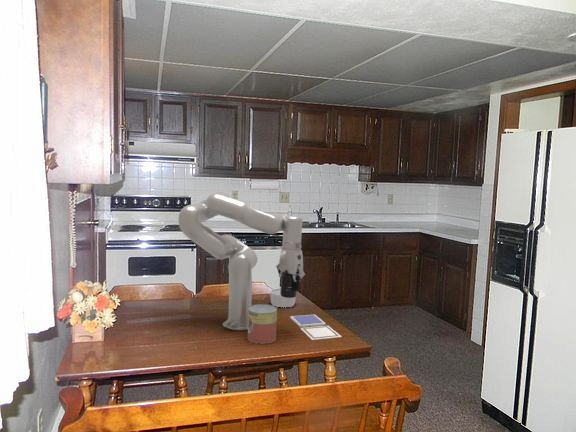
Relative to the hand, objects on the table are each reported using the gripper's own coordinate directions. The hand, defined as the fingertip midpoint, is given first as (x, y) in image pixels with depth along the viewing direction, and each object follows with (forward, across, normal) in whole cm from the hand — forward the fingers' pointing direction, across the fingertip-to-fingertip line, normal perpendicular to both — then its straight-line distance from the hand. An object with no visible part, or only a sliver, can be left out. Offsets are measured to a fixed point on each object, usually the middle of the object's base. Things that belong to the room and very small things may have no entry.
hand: (288, 288), depth 178 cm
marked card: (+18, -11, -9) cm, 23 cm away
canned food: (+18, -1, +14) cm, 23 cm away
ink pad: (+18, +2, -15) cm, 23 cm away
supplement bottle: (+3, 0, 0) cm, 3 cm away
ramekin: (+18, +26, -22) cm, 39 cm away
